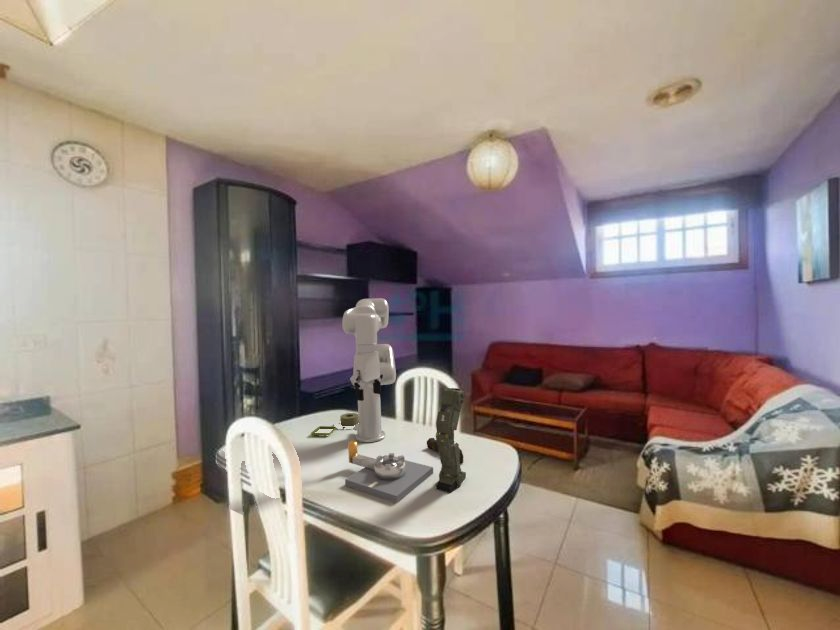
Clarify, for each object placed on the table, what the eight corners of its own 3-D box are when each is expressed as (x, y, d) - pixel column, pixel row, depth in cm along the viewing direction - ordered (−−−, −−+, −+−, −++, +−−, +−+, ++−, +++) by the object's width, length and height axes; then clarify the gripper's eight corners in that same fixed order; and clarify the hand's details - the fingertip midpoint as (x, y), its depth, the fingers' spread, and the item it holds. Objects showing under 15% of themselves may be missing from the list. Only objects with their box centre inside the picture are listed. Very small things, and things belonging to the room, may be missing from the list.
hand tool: (426, 448, 135) (425, 437, 135) (434, 446, 138) (434, 434, 137) (456, 466, 119) (456, 453, 119) (465, 463, 122) (465, 450, 121)
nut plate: (345, 485, 109) (345, 478, 109) (385, 460, 126) (385, 454, 126) (396, 503, 98) (396, 495, 98) (433, 473, 115) (433, 466, 115)
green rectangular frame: (337, 430, 160) (337, 426, 159) (329, 438, 151) (329, 433, 151) (319, 430, 161) (319, 426, 161) (310, 437, 152) (310, 432, 152)
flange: (355, 421, 157) (370, 411, 171) (326, 419, 162) (343, 410, 176) (356, 432, 157) (370, 421, 171) (327, 429, 162) (344, 419, 176)
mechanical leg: (447, 497, 99) (455, 388, 104) (425, 490, 102) (434, 386, 108) (467, 486, 110) (473, 389, 115) (447, 481, 114) (454, 387, 119)
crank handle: (411, 469, 113) (411, 448, 113) (393, 483, 105) (392, 460, 105) (360, 455, 125) (359, 436, 125) (339, 466, 117) (338, 446, 117)
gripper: (373, 345, 133) (375, 390, 134) (341, 351, 118) (343, 401, 119) (389, 346, 129) (391, 392, 130) (358, 352, 115) (360, 404, 115)
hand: (368, 396), depth 124 cm, fingers open, 9 cm apart
